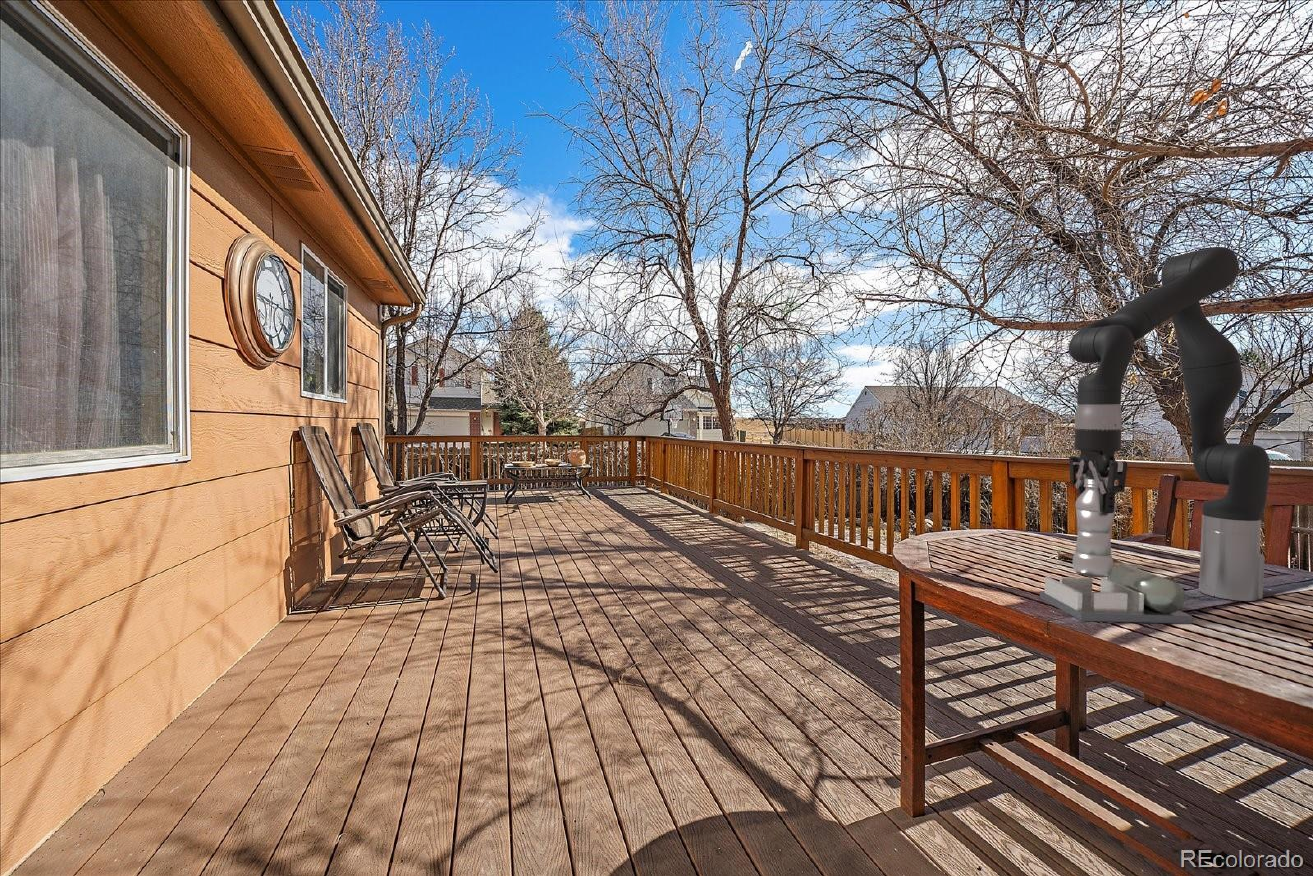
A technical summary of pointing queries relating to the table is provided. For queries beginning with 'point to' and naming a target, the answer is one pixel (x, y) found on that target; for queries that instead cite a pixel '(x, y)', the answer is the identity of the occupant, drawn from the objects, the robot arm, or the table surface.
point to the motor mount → (1119, 597)
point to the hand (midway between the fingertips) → (1095, 509)
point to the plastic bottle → (1093, 534)
